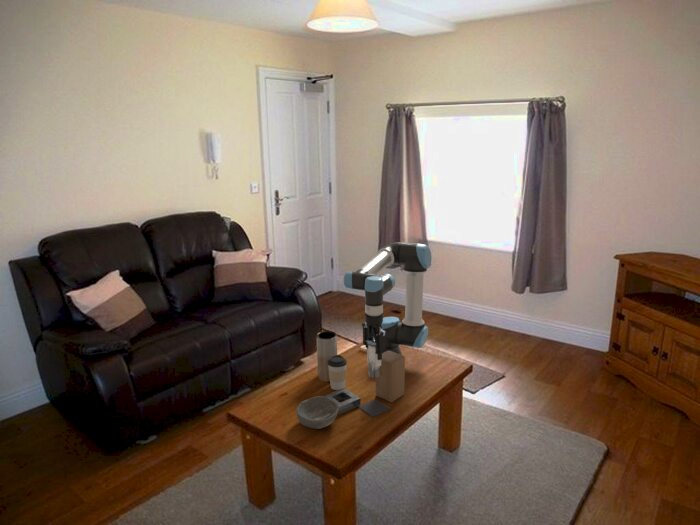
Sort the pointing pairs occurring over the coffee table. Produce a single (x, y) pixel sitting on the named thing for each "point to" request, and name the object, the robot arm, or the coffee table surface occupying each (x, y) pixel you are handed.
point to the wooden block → (391, 376)
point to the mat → (374, 408)
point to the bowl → (317, 412)
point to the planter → (325, 352)
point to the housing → (344, 394)
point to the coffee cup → (337, 372)
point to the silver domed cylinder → (372, 358)
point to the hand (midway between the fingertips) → (374, 363)
